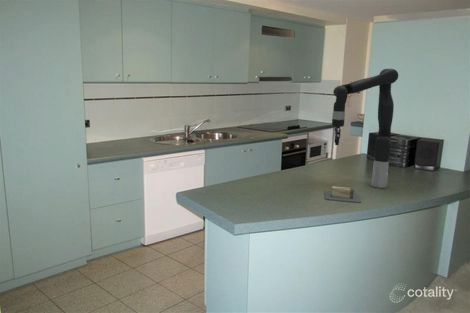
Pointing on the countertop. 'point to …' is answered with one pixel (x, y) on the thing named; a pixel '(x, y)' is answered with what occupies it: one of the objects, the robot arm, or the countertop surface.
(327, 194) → the mat
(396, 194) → the countertop surface
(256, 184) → the countertop surface
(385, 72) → the robot arm
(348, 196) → the maple bar
